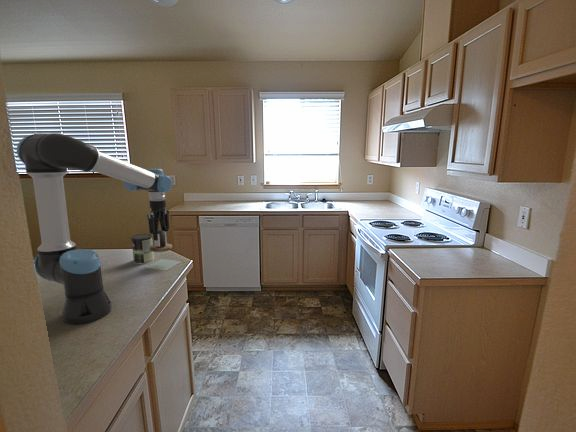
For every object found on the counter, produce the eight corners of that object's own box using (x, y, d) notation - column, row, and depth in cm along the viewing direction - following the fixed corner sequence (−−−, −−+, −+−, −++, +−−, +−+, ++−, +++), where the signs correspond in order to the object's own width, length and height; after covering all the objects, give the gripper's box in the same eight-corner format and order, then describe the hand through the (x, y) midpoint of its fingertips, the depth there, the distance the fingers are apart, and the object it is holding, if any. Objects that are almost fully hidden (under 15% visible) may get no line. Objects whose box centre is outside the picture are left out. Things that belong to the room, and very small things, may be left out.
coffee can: (133, 265, 161) (130, 239, 158) (133, 259, 170) (131, 234, 167) (154, 262, 166) (152, 237, 163) (154, 256, 175) (151, 232, 172)
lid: (162, 252, 153) (161, 234, 151) (144, 250, 156) (143, 233, 154) (176, 246, 163) (175, 229, 161) (159, 244, 166) (158, 228, 165)
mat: (165, 271, 154) (165, 270, 154) (144, 268, 158) (144, 267, 158) (181, 262, 166) (181, 261, 166) (161, 259, 170) (161, 258, 170)
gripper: (151, 202, 145) (155, 250, 150) (174, 198, 162) (177, 241, 166) (138, 202, 148) (142, 248, 152) (162, 197, 164) (165, 239, 169)
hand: (160, 244), depth 159 cm, fingers closed on lid, 4 cm apart
